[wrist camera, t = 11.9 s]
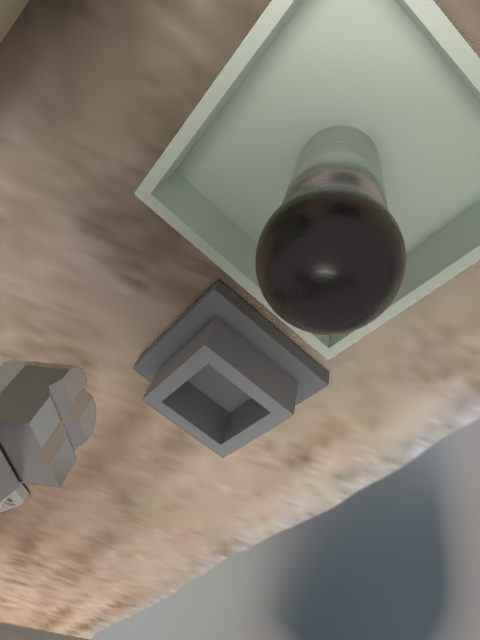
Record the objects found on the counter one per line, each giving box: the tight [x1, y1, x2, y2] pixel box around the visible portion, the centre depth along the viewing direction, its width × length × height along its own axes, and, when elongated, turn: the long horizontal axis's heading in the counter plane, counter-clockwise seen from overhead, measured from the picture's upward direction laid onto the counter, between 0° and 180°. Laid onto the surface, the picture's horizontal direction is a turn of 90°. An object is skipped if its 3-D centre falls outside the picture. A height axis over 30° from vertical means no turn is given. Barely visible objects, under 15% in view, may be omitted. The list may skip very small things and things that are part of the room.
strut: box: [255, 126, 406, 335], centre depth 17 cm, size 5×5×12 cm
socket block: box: [133, 280, 329, 458], centre depth 30 cm, size 10×10×4 cm
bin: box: [134, 0, 480, 361], centre depth 21 cm, size 13×13×4 cm
